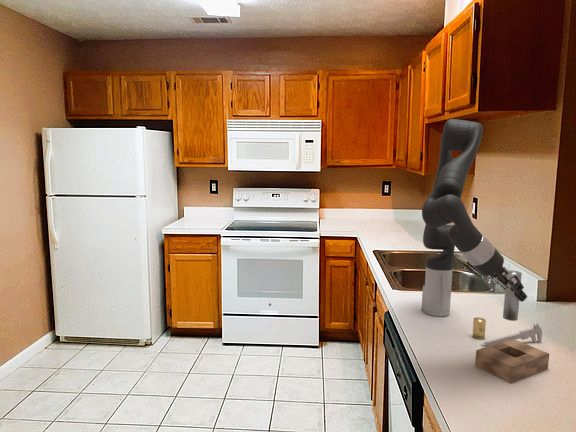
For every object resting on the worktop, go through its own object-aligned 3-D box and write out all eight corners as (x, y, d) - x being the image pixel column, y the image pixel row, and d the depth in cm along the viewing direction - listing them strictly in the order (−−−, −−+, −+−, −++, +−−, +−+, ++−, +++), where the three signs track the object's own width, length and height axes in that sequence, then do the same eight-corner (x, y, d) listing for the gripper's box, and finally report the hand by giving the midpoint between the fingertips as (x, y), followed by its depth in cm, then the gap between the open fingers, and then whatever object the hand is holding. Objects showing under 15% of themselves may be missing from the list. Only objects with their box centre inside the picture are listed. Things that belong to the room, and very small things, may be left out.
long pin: (500, 317, 120) (503, 271, 118) (508, 315, 122) (512, 269, 120) (512, 321, 117) (516, 274, 115) (520, 319, 119) (524, 273, 117)
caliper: (538, 341, 138) (540, 322, 137) (541, 343, 137) (543, 324, 136) (480, 346, 135) (481, 326, 134) (482, 347, 134) (483, 328, 133)
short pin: (470, 336, 141) (471, 318, 140) (477, 334, 143) (478, 316, 142) (479, 340, 138) (480, 322, 137) (487, 338, 140) (488, 320, 139)
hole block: (475, 365, 122) (476, 350, 121) (510, 352, 130) (512, 338, 129) (511, 383, 112) (512, 367, 112) (547, 368, 120) (549, 353, 119)
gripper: (508, 250, 108) (547, 295, 112) (475, 239, 122) (511, 279, 126) (486, 271, 108) (527, 315, 112) (457, 257, 122) (493, 298, 126)
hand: (518, 296), depth 119 cm, fingers closed on long pin, 3 cm apart
